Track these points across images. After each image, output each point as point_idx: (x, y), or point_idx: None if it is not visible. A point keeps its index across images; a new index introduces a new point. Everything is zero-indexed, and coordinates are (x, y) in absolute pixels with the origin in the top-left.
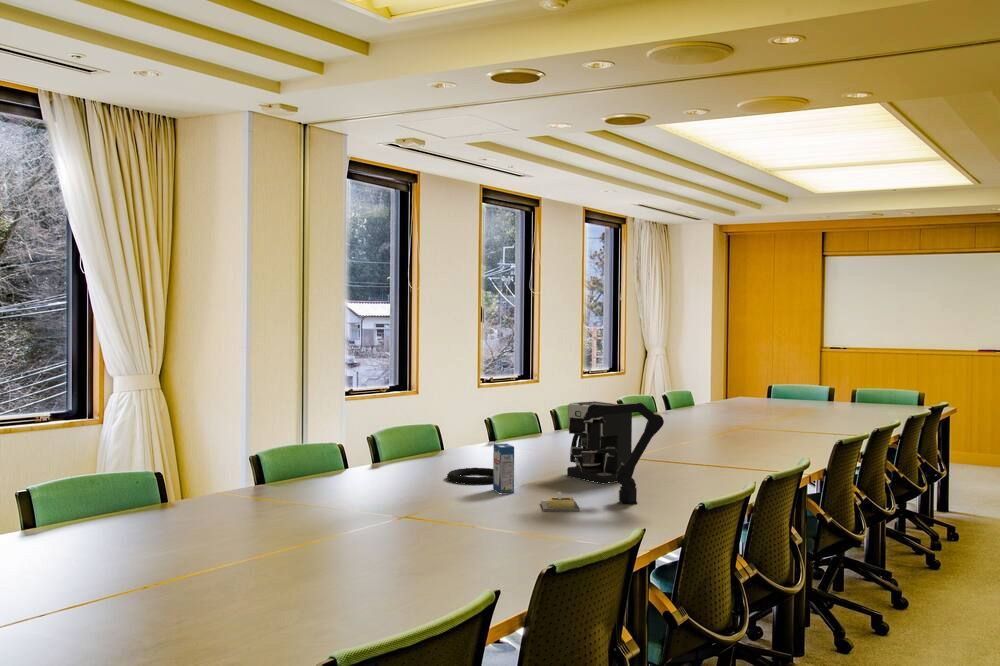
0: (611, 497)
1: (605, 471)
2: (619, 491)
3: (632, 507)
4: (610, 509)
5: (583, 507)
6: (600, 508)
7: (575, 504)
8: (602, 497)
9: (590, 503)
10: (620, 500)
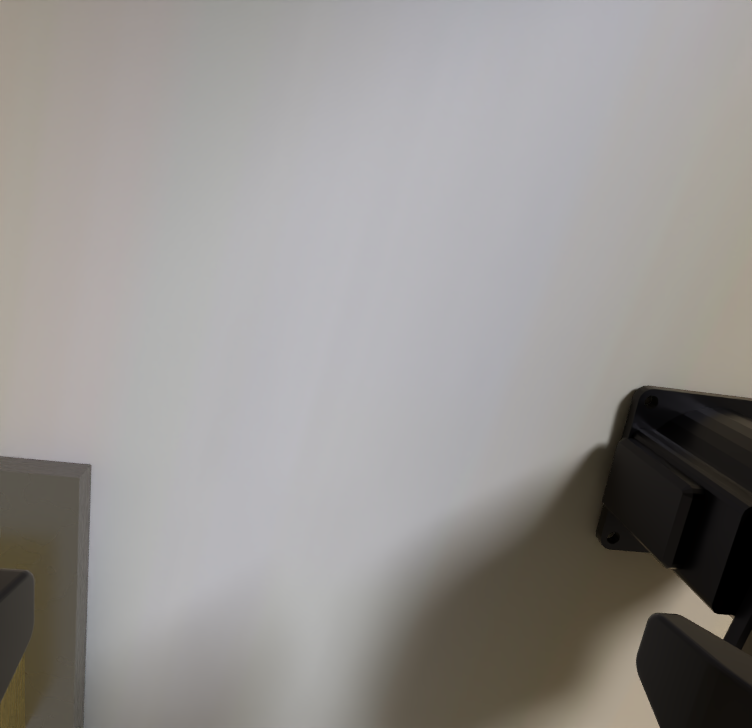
0: (631, 182)
1: (668, 698)
2: (668, 542)
3: (630, 663)
4: (400, 722)
5: (154, 637)
6: (318, 683)
7: (55, 638)
8: (523, 164)
9: (276, 471)
10: (612, 510)
